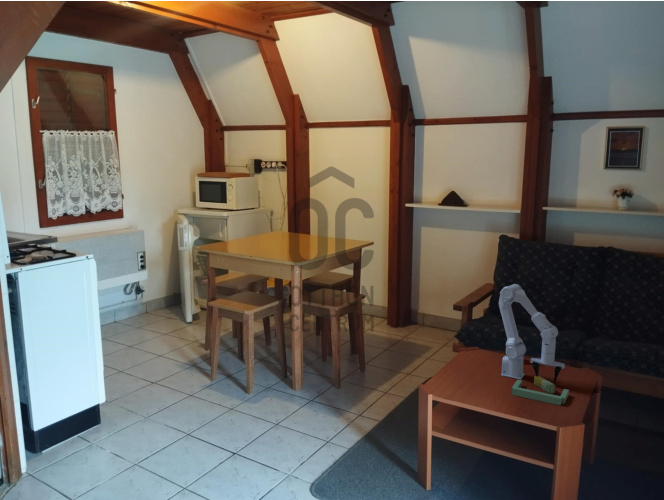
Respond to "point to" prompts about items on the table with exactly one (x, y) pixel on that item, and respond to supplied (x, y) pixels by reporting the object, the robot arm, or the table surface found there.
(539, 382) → the medication box
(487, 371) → the table surface
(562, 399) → the green u-shaped bracket
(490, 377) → the table surface
